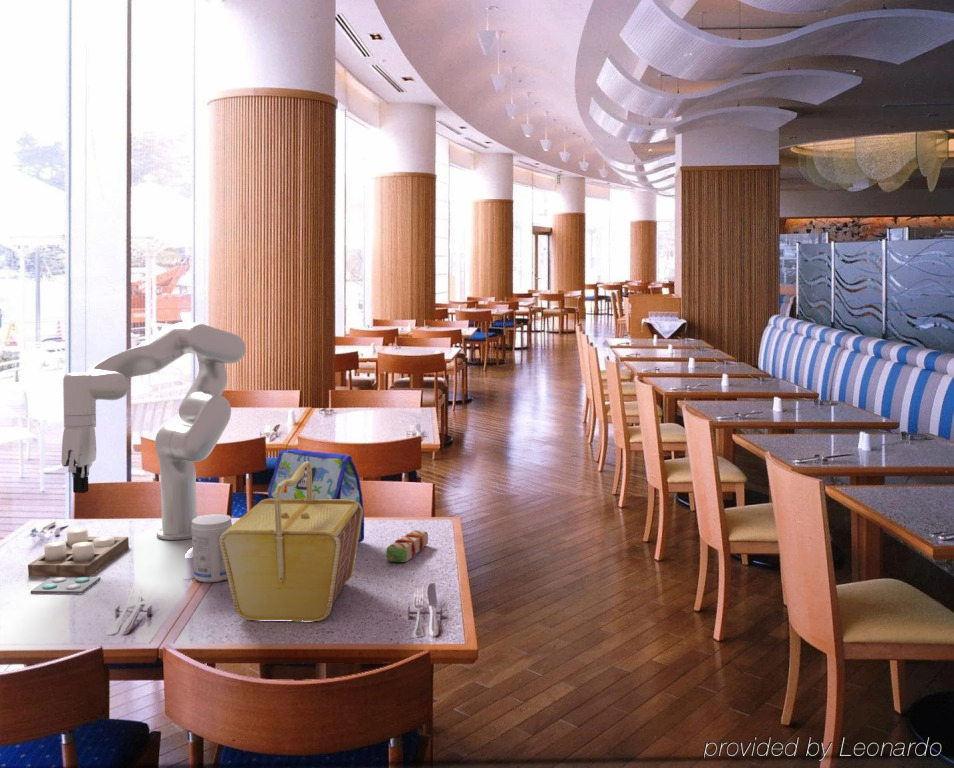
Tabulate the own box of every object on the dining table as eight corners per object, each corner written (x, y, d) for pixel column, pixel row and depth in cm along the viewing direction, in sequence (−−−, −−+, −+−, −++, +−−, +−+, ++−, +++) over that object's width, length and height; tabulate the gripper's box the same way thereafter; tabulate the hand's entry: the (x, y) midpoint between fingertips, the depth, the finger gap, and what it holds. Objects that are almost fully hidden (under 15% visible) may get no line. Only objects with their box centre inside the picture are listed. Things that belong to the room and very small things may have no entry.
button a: (117, 550, 244) (117, 536, 243) (109, 556, 239) (109, 541, 238) (99, 550, 244) (98, 536, 243) (91, 555, 239) (90, 541, 238)
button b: (91, 542, 244) (90, 528, 243) (83, 547, 239) (82, 533, 238) (73, 542, 244) (72, 528, 243) (64, 547, 239) (63, 533, 238)
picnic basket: (259, 579, 222) (256, 458, 219) (365, 581, 221) (363, 459, 217) (219, 625, 193) (214, 486, 190) (340, 628, 192) (337, 488, 188)
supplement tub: (230, 568, 230) (228, 511, 228) (238, 580, 221) (236, 521, 220) (190, 574, 226) (188, 516, 224) (196, 586, 217) (194, 525, 215)
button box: (128, 547, 247) (128, 536, 247) (89, 577, 223) (88, 565, 223) (74, 547, 247) (73, 536, 247) (28, 576, 224) (27, 564, 223)
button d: (70, 556, 232) (69, 541, 231) (61, 562, 227) (60, 547, 226) (51, 556, 232) (50, 541, 231) (41, 562, 227) (40, 547, 226)
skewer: (409, 544, 251) (409, 526, 250) (431, 546, 249) (431, 528, 248) (377, 567, 231) (377, 548, 231) (401, 570, 229) (401, 550, 229)
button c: (97, 556, 231) (97, 541, 231) (88, 562, 226) (88, 547, 226) (78, 556, 232) (77, 541, 231) (69, 562, 227) (68, 547, 226)
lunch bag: (265, 549, 246) (262, 453, 243) (299, 532, 262) (297, 443, 258) (337, 558, 238) (335, 460, 235) (368, 541, 253) (366, 448, 250)
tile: (100, 579, 222) (100, 575, 222) (81, 593, 212) (81, 590, 212) (51, 578, 222) (51, 575, 222) (30, 593, 212) (30, 589, 212)
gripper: (79, 417, 240) (79, 486, 242) (50, 424, 225) (51, 497, 227) (107, 418, 240) (107, 486, 241) (80, 425, 225) (81, 498, 227)
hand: (80, 492), depth 234 cm, fingers closed
